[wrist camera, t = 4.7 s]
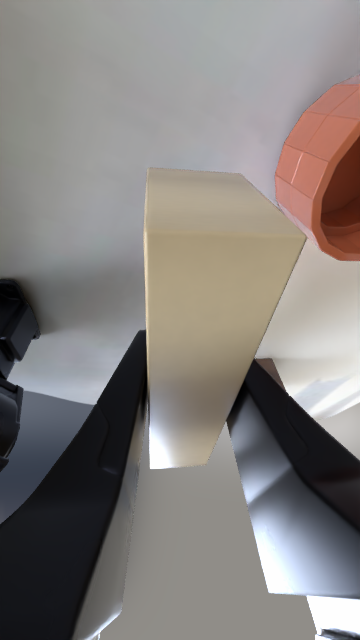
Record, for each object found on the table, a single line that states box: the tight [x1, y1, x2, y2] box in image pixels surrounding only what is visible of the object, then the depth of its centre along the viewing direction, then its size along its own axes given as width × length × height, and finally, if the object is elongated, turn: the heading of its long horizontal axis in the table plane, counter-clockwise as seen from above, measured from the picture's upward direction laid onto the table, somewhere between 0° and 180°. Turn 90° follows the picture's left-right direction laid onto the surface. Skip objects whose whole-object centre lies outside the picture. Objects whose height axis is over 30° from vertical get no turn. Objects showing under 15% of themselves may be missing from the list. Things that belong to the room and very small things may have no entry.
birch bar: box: [143, 168, 307, 469], centre depth 9 cm, size 11×3×4 cm, turn 176°
